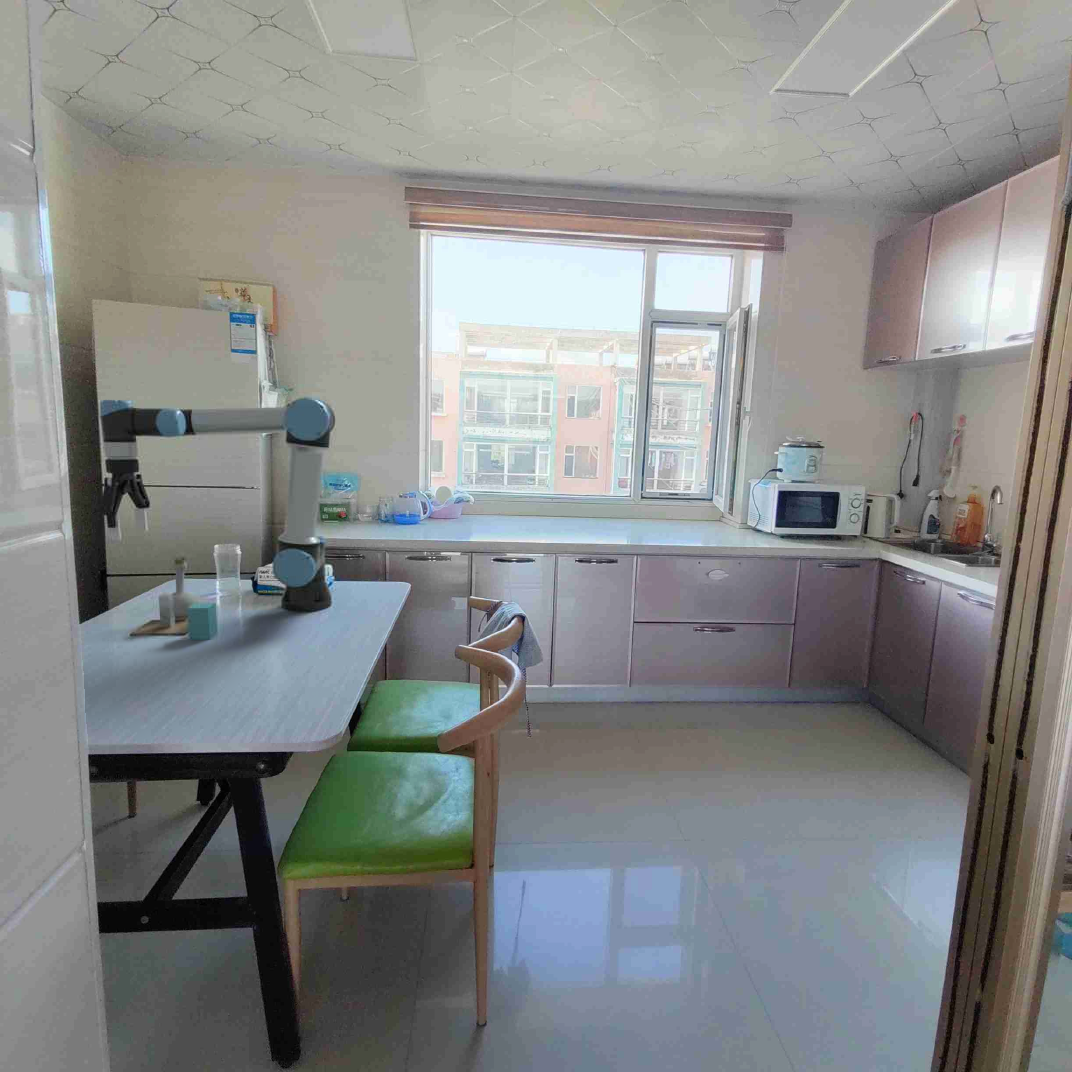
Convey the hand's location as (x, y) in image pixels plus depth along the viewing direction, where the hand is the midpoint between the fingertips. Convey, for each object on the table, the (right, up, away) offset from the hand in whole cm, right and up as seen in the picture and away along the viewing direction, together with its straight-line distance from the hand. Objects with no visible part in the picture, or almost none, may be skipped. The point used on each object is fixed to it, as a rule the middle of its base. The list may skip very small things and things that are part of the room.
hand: (129, 535), depth 170 cm
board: (+11, -26, 0) cm, 28 cm away
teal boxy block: (+23, -27, -5) cm, 36 cm away
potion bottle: (+9, -24, +9) cm, 28 cm away
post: (+11, -26, 0) cm, 28 cm away
